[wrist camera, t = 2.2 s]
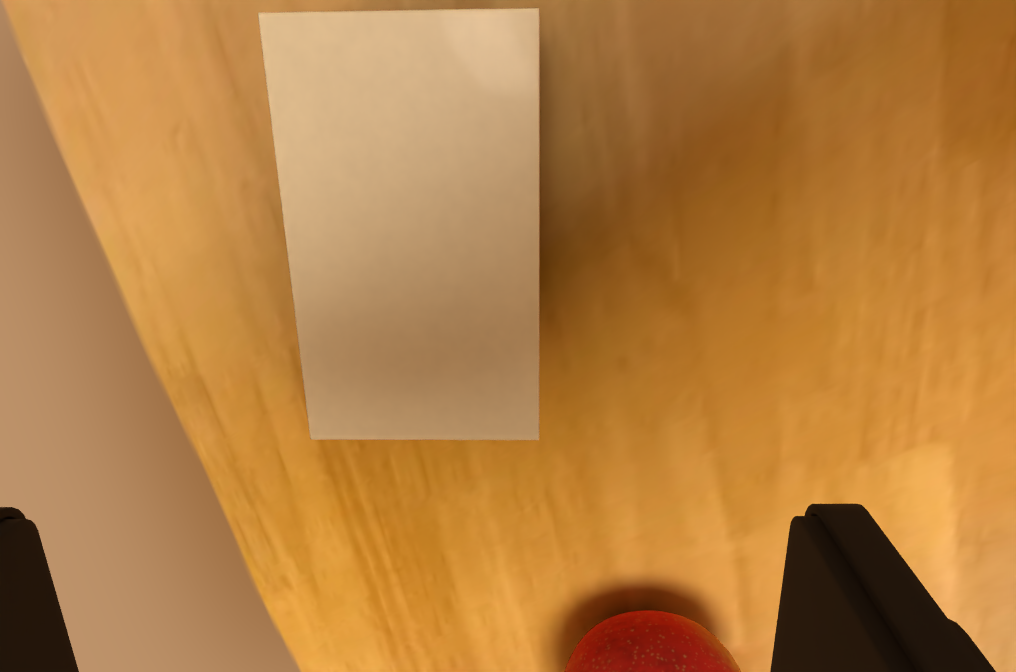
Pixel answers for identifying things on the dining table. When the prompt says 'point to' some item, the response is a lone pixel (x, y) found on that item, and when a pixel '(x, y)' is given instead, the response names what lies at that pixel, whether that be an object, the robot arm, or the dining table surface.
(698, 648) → the apple
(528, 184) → the cream rectangular block
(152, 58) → the dining table surface
